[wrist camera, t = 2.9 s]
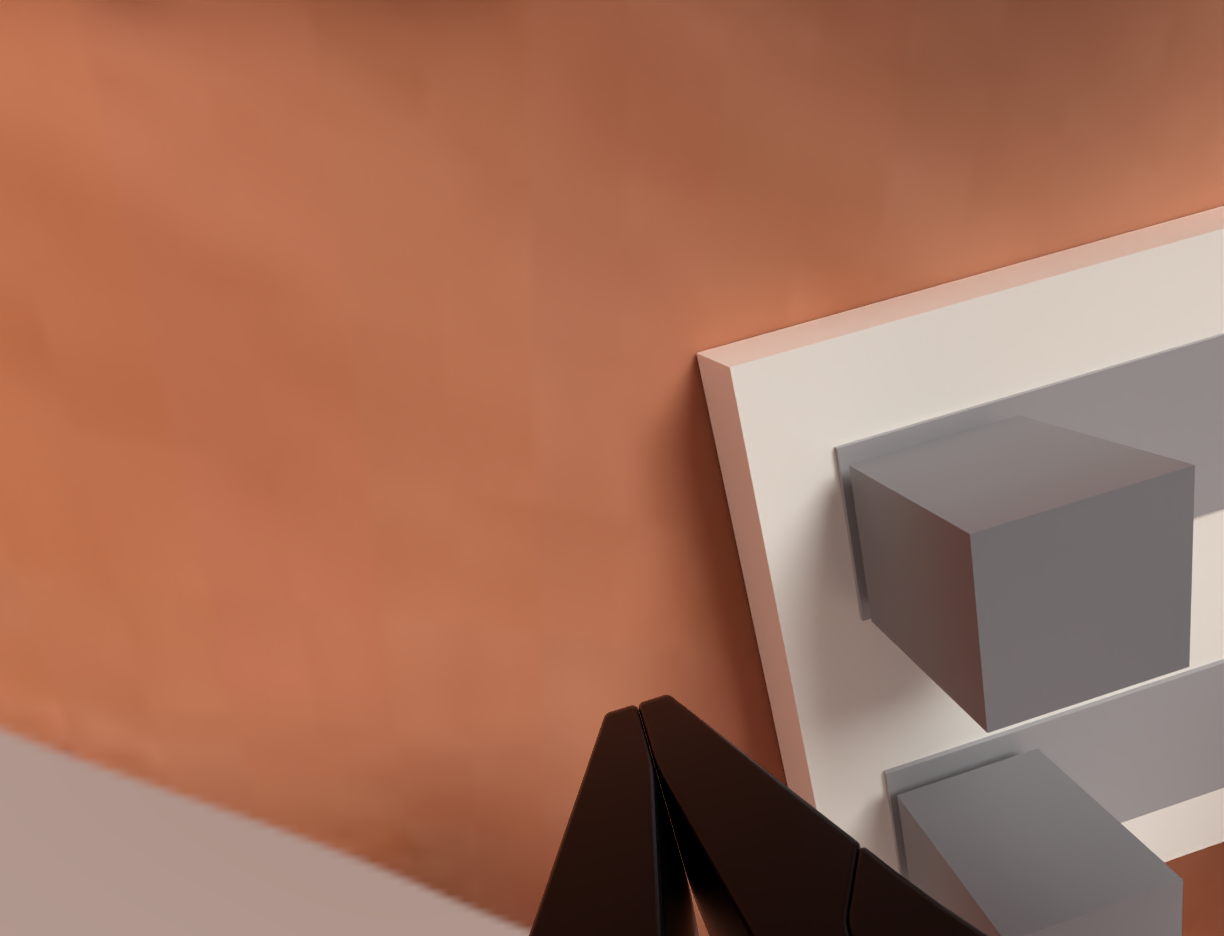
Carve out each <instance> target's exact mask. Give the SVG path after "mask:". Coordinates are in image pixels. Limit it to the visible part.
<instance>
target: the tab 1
mask: <svg viewBox="0 0 1224 936" xmlns="http://www.w3.org/2000/svg"><path fill="white" fill-rule="evenodd" d="M849 469H850V476H851V483H852V490H853V497H854V503H855V510H856V517H857V524H858V531H859V538H860V545H861V551H862V558H863V565H864V572H865V579H866V586H867V593H868V599H869V606H870V613H871V620H872V622H873V623H874V624H875V625H876V626H877V627H878V628H879V629H880V630H881V631H882V632H883V633H884V634H885V635H886V636H887V637H888V638H889V639H890V640H891V641H893V642H894V643H895V644H896V645H897V646H898V647H899V648H900V649H901V650H902V651H903V652H904V653H905V654H906V655H907V656H908V657H909V658H910V659H911V660H912V661H913V662H914V663H915V664H916V665H917V666H918V667H919V668H920V669H922V670H923V671H924V672H925V673H926V674H927V675H928V676H929V677H930V678H931V679H932V680H933V681H934V682H935V683H936V684H937V685H938V686H939V687H940V688H941V689H942V690H943V691H944V692H945V693H946V694H947V695H948V696H949V697H951V698H952V699H953V700H954V701H955V702H956V703H957V704H958V705H959V706H960V707H961V708H962V709H963V710H964V711H965V712H966V713H967V714H968V715H969V716H970V717H971V718H972V719H973V720H974V721H975V722H976V723H977V724H978V725H980V726H981V727H982V728H983V729H984V730H985V731H986V732H987V733H989V732H992V731H995V730H998V729H1001V728H1004V727H1007V726H1011V725H1014V724H1017V723H1020V722H1023V721H1026V720H1029V719H1032V718H1035V717H1038V716H1041V715H1044V714H1047V713H1050V712H1053V711H1056V710H1059V709H1062V708H1065V707H1068V706H1071V705H1074V704H1078V703H1081V702H1084V701H1087V700H1090V699H1093V698H1096V697H1099V696H1102V695H1105V694H1108V693H1111V692H1114V691H1117V690H1120V689H1123V688H1126V687H1129V686H1132V685H1135V684H1138V683H1141V682H1145V681H1148V680H1151V679H1154V678H1157V677H1160V676H1163V675H1166V674H1169V673H1172V672H1175V671H1178V670H1181V669H1184V668H1187V667H1189V662H1190V627H1191V592H1192V557H1193V521H1194V486H1195V465H1193V464H1190V463H1186V462H1183V461H1179V460H1176V459H1172V458H1168V457H1165V456H1161V455H1158V454H1154V453H1151V452H1147V451H1144V450H1140V449H1136V448H1133V447H1129V446H1126V445H1122V444H1119V443H1115V442H1112V441H1108V440H1104V439H1101V438H1097V437H1094V436H1090V435H1087V434H1083V433H1080V432H1076V431H1072V430H1069V429H1065V428H1062V427H1058V426H1055V425H1051V424H1047V423H1044V422H1040V421H1037V420H1033V419H1030V418H1026V417H1023V416H1019V415H1017V416H1014V417H1010V418H1007V419H1004V420H1000V421H997V422H994V423H990V424H987V425H983V426H980V427H977V428H973V429H970V430H966V431H963V432H960V433H956V434H953V435H950V436H946V437H943V438H939V439H936V440H933V441H929V442H926V443H922V444H919V445H916V446H912V447H909V448H906V449H902V450H899V451H895V452H892V453H889V454H885V455H882V456H878V457H875V458H872V459H868V460H865V461H862V462H858V463H855V464H851V465H849Z"/></svg>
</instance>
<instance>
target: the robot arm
mask: <svg viewBox="0 0 1224 936" xmlns="http://www.w3.org/2000/svg"><path fill="white" fill-rule="evenodd" d="M639 712H640V713H639ZM640 715H641V717H640ZM641 719H642V720H641ZM642 722H643V724H642ZM643 726H644V727H643ZM644 729H645V731H644ZM645 733H646V734H645ZM646 736H647V737H646ZM647 740H648V741H647ZM648 743H649V744H648ZM649 747H650V748H649ZM650 750H651V751H650ZM651 754H652V755H651ZM652 757H653V758H652ZM653 761H654V762H653ZM654 764H655V765H654ZM655 767H656V768H655ZM656 771H657V772H656ZM657 774H658V775H657ZM658 778H659V779H658ZM659 781H660V782H659ZM660 785H661V786H660ZM661 788H662V789H661ZM662 792H663V793H662ZM663 795H664V796H663ZM664 798H665V800H664ZM665 802H666V803H665ZM666 805H667V807H666ZM667 809H668V810H667ZM668 812H669V814H668ZM669 816H670V817H669ZM670 819H671V821H670ZM671 823H672V824H671ZM672 826H673V827H672ZM673 830H674V831H673ZM674 833H675V834H674ZM675 836H676V838H675ZM676 840H677V841H676ZM677 843H678V845H677ZM678 847H679V848H678ZM679 850H680V852H679ZM680 854H681V855H680ZM681 857H682V859H681ZM682 861H683V862H682ZM683 864H684V866H683ZM684 867H685V869H684ZM685 871H686V873H685ZM686 874H687V876H686ZM687 877H688V880H689V883H690V887H691V890H692V893H693V895H694V898H695V901H696V903H697V906H698V908H699V911H700V913H701V916H702V918H703V921H704V923H705V925H706V928H707V930H708V933H709V935H710V936H988V935H987V934H985V933H984V932H982V931H981V930H979V929H978V928H976V927H975V926H973V925H972V924H970V923H969V922H967V921H966V920H964V919H962V918H961V917H959V916H958V915H956V914H955V913H953V912H952V911H950V910H949V909H947V908H946V907H944V906H943V905H941V904H940V903H939V902H937V901H936V900H934V899H933V898H932V897H930V896H929V895H928V894H926V893H925V892H924V891H922V890H921V889H919V888H918V887H917V886H915V885H914V884H913V883H911V882H910V881H909V880H907V879H906V878H904V877H903V876H902V875H900V874H899V873H898V872H896V871H895V870H894V869H892V868H891V867H890V866H889V865H887V864H886V863H885V862H884V861H882V860H881V859H880V858H878V857H877V856H876V855H875V854H873V853H872V852H871V851H870V850H868V849H867V848H865V847H862V848H861V847H860V844H859V843H858V841H856V840H855V839H854V838H852V837H851V836H850V835H849V834H847V833H846V832H845V831H843V830H842V829H841V828H840V827H838V826H837V825H836V824H834V823H833V822H832V821H831V820H829V819H828V818H827V817H825V816H824V815H823V814H822V813H820V812H819V811H818V810H816V809H815V808H814V807H813V806H811V805H810V804H809V803H807V802H806V801H805V800H804V799H802V798H801V797H800V796H798V795H797V794H796V793H795V792H793V791H792V790H791V789H790V788H788V787H787V786H786V785H784V784H783V783H782V782H781V781H779V780H778V779H777V778H775V777H774V776H773V775H772V774H770V773H769V772H768V771H766V770H765V769H764V768H763V767H761V766H760V765H759V764H757V763H756V762H755V761H754V760H752V759H751V758H750V757H748V756H747V755H746V754H745V753H743V752H742V751H741V750H739V749H738V748H737V747H736V746H734V745H733V744H732V743H730V742H729V741H728V740H727V739H725V738H724V737H723V736H722V735H720V734H719V733H718V732H716V731H715V730H714V729H713V728H711V727H710V726H709V725H707V724H706V723H705V722H704V721H702V720H701V719H700V718H698V717H697V716H696V715H695V714H693V713H692V712H691V711H689V710H688V709H687V708H686V707H684V706H683V705H682V704H680V703H679V702H678V701H677V700H675V699H674V698H673V697H671V696H669V695H663V696H660V697H657V698H654V699H650V700H647V701H644V702H642V703H641V704H640V705H639V710H638V708H637V707H636V706H633V705H632V706H628V707H625V708H622V709H618V710H615V711H612V712H609V713H607V714H606V715H605V717H604V719H603V722H602V725H601V728H600V731H599V734H598V737H597V740H596V743H595V745H594V748H593V751H592V754H591V757H590V760H589V763H588V766H587V769H586V772H585V775H584V777H583V780H582V783H581V786H580V789H579V792H578V795H577V798H576V801H575V804H574V807H573V809H572V812H571V815H570V818H569V821H568V824H567V827H566V830H565V833H564V836H563V839H562V842H561V844H560V847H559V850H558V853H557V856H556V859H555V862H554V865H553V868H552V871H551V874H550V876H549V879H548V882H547V885H546V888H545V891H544V894H543V897H542V900H541V903H540V906H539V908H538V911H537V914H536V917H535V920H534V923H533V926H532V929H531V932H530V935H529V936H699V935H698V929H697V923H696V917H695V912H694V907H693V902H692V897H691V892H690V888H689V884H688V880H687Z"/></svg>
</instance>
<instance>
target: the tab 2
mask: <svg viewBox="0 0 1224 936" xmlns="http://www.w3.org/2000/svg"><path fill="white" fill-rule="evenodd" d="M897 798H898V805H899V812H900V819H901V825H902V832H903V839H904V846H905V853H906V860H907V867H908V873H909V880H910V882H911V883H913V884H914V885H915V886H917V887H918V888H919V889H921V890H922V891H924V892H925V893H926V894H928V895H929V896H930V897H932V898H933V899H934V900H936V901H937V902H939V903H940V904H941V905H943V906H944V907H946V908H947V909H949V910H950V911H952V912H953V913H955V914H956V915H958V916H959V917H961V918H962V919H964V920H966V921H967V922H969V923H970V924H972V925H973V926H975V927H976V928H978V929H979V930H981V931H982V932H984V933H985V934H987V935H988V936H1182V908H1183V879H1182V878H1181V877H1180V876H1179V875H1178V874H1177V873H1175V872H1174V871H1173V870H1172V869H1171V868H1170V867H1169V866H1168V865H1167V864H1165V863H1164V862H1163V861H1162V860H1161V859H1160V858H1159V857H1158V856H1157V855H1155V854H1154V853H1153V852H1152V851H1151V850H1150V849H1149V848H1148V847H1147V846H1145V845H1144V844H1143V843H1142V842H1141V841H1140V840H1139V839H1138V838H1137V837H1136V836H1134V835H1133V834H1132V833H1131V832H1130V831H1129V830H1128V829H1127V828H1126V827H1124V826H1123V825H1122V824H1121V823H1120V822H1119V821H1118V820H1117V819H1116V818H1114V817H1113V816H1112V815H1111V814H1110V813H1109V812H1108V811H1107V810H1106V809H1104V808H1103V807H1102V806H1101V805H1100V804H1099V803H1098V802H1097V801H1096V800H1094V799H1093V798H1092V797H1091V796H1090V795H1089V794H1088V793H1087V792H1086V791H1085V790H1083V789H1082V788H1081V787H1080V786H1079V785H1078V784H1077V783H1076V782H1075V781H1073V780H1072V779H1071V778H1070V777H1069V776H1068V775H1067V774H1066V773H1065V772H1063V771H1062V770H1061V769H1060V768H1059V767H1058V766H1057V765H1056V764H1055V763H1053V762H1052V761H1051V760H1050V759H1049V758H1048V757H1047V756H1046V755H1045V754H1043V753H1042V752H1041V751H1040V750H1039V749H1035V750H1031V751H1028V752H1025V753H1022V754H1019V755H1016V756H1013V757H1010V758H1007V759H1004V760H1001V761H998V762H995V763H992V764H989V765H986V766H983V767H980V768H977V769H974V770H971V771H968V772H965V773H962V774H959V775H956V776H953V777H950V778H947V779H944V780H941V781H938V782H935V783H932V784H929V785H926V786H923V787H920V788H917V789H914V790H911V791H908V792H905V793H902V794H899V795H897Z"/></svg>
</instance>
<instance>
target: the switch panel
mask: <svg viewBox="0 0 1224 936" xmlns="http://www.w3.org/2000/svg"><path fill="white" fill-rule="evenodd" d="M696 354H697V359H698V364H699V368H700V373H701V378H702V383H703V387H704V392H705V397H706V402H707V406H708V411H709V416H710V420H711V425H712V430H713V435H714V439H715V444H716V449H717V454H718V458H719V463H720V468H721V473H722V477H723V482H724V487H725V492H726V496H727V501H728V506H729V511H730V515H731V520H732V525H733V530H734V534H735V539H736V544H737V548H738V553H739V558H740V563H741V567H742V572H743V577H744V582H745V586H746V591H747V596H748V601H749V605H750V610H751V615H752V620H753V624H754V629H755V634H756V639H757V643H758V648H759V653H760V658H761V662H762V667H763V672H764V676H765V681H766V686H767V691H768V695H769V700H770V705H771V710H772V714H773V719H774V724H775V729H776V733H777V738H778V743H779V748H780V752H781V757H782V762H783V767H784V771H785V776H786V781H787V786H788V788H790V789H791V790H792V791H793V792H795V793H796V794H797V795H798V796H800V797H801V798H802V799H804V800H805V801H806V802H807V803H809V804H810V805H811V806H813V807H814V808H815V809H816V810H818V811H819V812H820V813H822V814H823V815H824V816H825V817H827V818H828V819H829V820H831V821H832V822H833V823H834V824H836V825H837V826H838V827H840V828H841V829H842V830H843V831H845V832H846V833H847V834H849V835H850V836H851V837H852V838H854V839H855V840H856V841H858V843H859V844H860V847H861V848H862V847H865V848H867V849H868V850H870V851H871V852H872V853H873V854H875V855H876V856H877V857H878V858H880V859H881V860H882V861H884V862H885V863H886V864H887V865H889V866H890V867H891V868H892V869H894V870H895V871H896V872H898V873H899V874H900V875H902V876H903V877H904V878H906V879H907V880H909V873H908V867H907V860H906V853H905V846H904V839H903V832H902V825H901V819H900V812H899V805H898V798H897V795H899V794H902V793H905V792H908V791H911V790H914V789H917V788H920V787H923V786H926V785H929V784H932V783H935V782H938V781H941V780H944V779H947V778H950V777H953V776H956V775H959V774H962V773H965V772H968V771H971V770H974V769H977V768H980V767H983V766H986V765H989V764H992V763H995V762H998V761H1001V760H1004V759H1007V758H1010V757H1013V756H1016V755H1019V754H1022V753H1025V752H1028V751H1031V750H1035V749H1039V750H1040V751H1041V752H1042V753H1043V754H1045V755H1046V756H1047V757H1048V758H1049V759H1050V760H1051V761H1052V762H1053V763H1055V764H1056V765H1057V766H1058V767H1059V768H1060V769H1061V770H1062V771H1063V772H1065V773H1066V774H1067V775H1068V776H1069V777H1070V778H1071V779H1072V780H1073V781H1075V782H1076V783H1077V784H1078V785H1079V786H1080V787H1081V788H1082V789H1083V790H1085V791H1086V792H1087V793H1088V794H1089V795H1090V796H1091V797H1092V798H1093V799H1094V800H1096V801H1097V802H1098V803H1099V804H1100V805H1101V806H1102V807H1103V808H1104V809H1106V810H1107V811H1108V812H1109V813H1110V814H1111V815H1112V816H1113V817H1114V818H1116V819H1117V820H1118V821H1119V822H1120V823H1121V824H1122V825H1123V826H1124V827H1126V828H1127V829H1128V830H1129V831H1130V832H1131V833H1132V834H1133V835H1134V836H1136V837H1137V838H1138V839H1139V840H1140V841H1141V842H1142V843H1143V844H1144V845H1145V846H1147V847H1148V848H1149V849H1150V850H1151V851H1152V852H1153V853H1154V854H1155V855H1157V856H1158V857H1159V858H1160V859H1161V860H1162V861H1163V862H1167V861H1170V860H1173V859H1175V858H1178V857H1181V856H1184V855H1187V854H1190V853H1193V852H1196V851H1198V850H1201V849H1204V848H1207V847H1210V846H1213V845H1216V844H1218V843H1221V842H1224V206H1221V207H1217V208H1214V209H1210V210H1207V211H1203V212H1199V213H1196V214H1192V215H1189V216H1185V217H1181V218H1178V219H1174V220H1171V221H1167V222H1164V223H1160V224H1156V225H1153V226H1149V227H1146V228H1142V229H1138V230H1135V231H1131V232H1128V233H1124V234H1121V235H1117V236H1113V237H1110V238H1106V239H1103V240H1099V241H1096V242H1092V243H1088V244H1085V245H1081V246H1078V247H1074V248H1070V249H1067V250H1063V251H1060V252H1056V253H1053V254H1049V255H1045V256H1042V257H1038V258H1035V259H1031V260H1027V261H1024V262H1020V263H1017V264H1013V265H1010V266H1006V267H1002V268H999V269H995V270H992V271H988V272H984V273H981V274H977V275H974V276H970V277H967V278H963V279H959V280H956V281H952V282H949V283H945V284H941V285H938V286H934V287H931V288H927V289H924V290H920V291H916V292H913V293H909V294H906V295H902V296H898V297H895V298H891V299H888V300H884V301H881V302H877V303H873V304H870V305H866V306H863V307H859V308H855V309H852V310H848V311H845V312H841V313H838V314H834V315H830V316H827V317H823V318H820V319H816V320H812V321H809V322H805V323H802V324H798V325H795V326H791V327H787V328H784V329H780V330H777V331H773V332H769V333H766V334H762V335H759V336H755V337H752V338H748V339H744V340H741V341H737V342H734V343H730V344H726V345H723V346H719V347H716V348H712V349H709V350H705V351H701V352H698V353H696ZM1017 415H1019V416H1023V417H1026V418H1030V419H1033V420H1037V421H1040V422H1044V423H1047V424H1051V425H1055V426H1058V427H1062V428H1065V429H1069V430H1072V431H1076V432H1080V433H1083V434H1087V435H1090V436H1094V437H1097V438H1101V439H1104V440H1108V441H1112V442H1115V443H1119V444H1122V445H1126V446H1129V447H1133V448H1136V449H1140V450H1144V451H1147V452H1151V453H1154V454H1158V455H1161V456H1165V457H1168V458H1172V459H1176V460H1179V461H1183V462H1186V463H1190V464H1193V465H1195V486H1194V521H1193V557H1192V592H1191V627H1190V662H1189V667H1187V668H1184V669H1181V670H1178V671H1175V672H1172V673H1169V674H1166V675H1163V676H1160V677H1157V678H1154V679H1151V680H1148V681H1145V682H1141V683H1138V684H1135V685H1132V686H1129V687H1126V688H1123V689H1120V690H1117V691H1114V692H1111V693H1108V694H1105V695H1102V696H1099V697H1096V698H1093V699H1090V700H1087V701H1084V702H1081V703H1078V704H1074V705H1071V706H1068V707H1065V708H1062V709H1059V710H1056V711H1053V712H1050V713H1047V714H1044V715H1041V716H1038V717H1035V718H1032V719H1029V720H1026V721H1023V722H1020V723H1017V724H1014V725H1011V726H1007V727H1004V728H1001V729H998V730H995V731H992V732H989V733H987V732H986V731H985V730H984V729H983V728H982V727H981V726H980V725H978V724H977V723H976V722H975V721H974V720H973V719H972V718H971V717H970V716H969V715H968V714H967V713H966V712H965V711H964V710H963V709H962V708H961V707H960V706H959V705H958V704H957V703H956V702H955V701H954V700H953V699H952V698H951V697H949V696H948V695H947V694H946V693H945V692H944V691H943V690H942V689H941V688H940V687H939V686H938V685H937V684H936V683H935V682H934V681H933V680H932V679H931V678H930V677H929V676H928V675H927V674H926V673H925V672H924V671H923V670H922V669H920V668H919V667H918V666H917V665H916V664H915V663H914V662H913V661H912V660H911V659H910V658H909V657H908V656H907V655H906V654H905V653H904V652H903V651H902V650H901V649H900V648H899V647H898V646H897V645H896V644H895V643H894V642H893V641H891V640H890V639H889V638H888V637H887V636H886V635H885V634H884V633H883V632H882V631H881V630H880V629H879V628H878V627H877V626H876V625H875V624H874V623H873V622H872V620H871V613H870V606H869V599H868V593H867V586H866V579H865V572H864V565H863V558H862V551H861V545H860V538H859V531H858V524H857V517H856V510H855V503H854V497H853V490H852V483H851V476H850V469H849V465H851V464H855V463H858V462H862V461H865V460H868V459H872V458H875V457H878V456H882V455H885V454H889V453H892V452H895V451H899V450H902V449H906V448H909V447H912V446H916V445H919V444H922V443H926V442H929V441H933V440H936V439H939V438H943V437H946V436H950V435H953V434H956V433H960V432H963V431H966V430H970V429H973V428H977V427H980V426H983V425H987V424H990V423H994V422H997V421H1000V420H1004V419H1007V418H1010V417H1014V416H1017ZM909 881H910V880H909Z"/></svg>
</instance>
